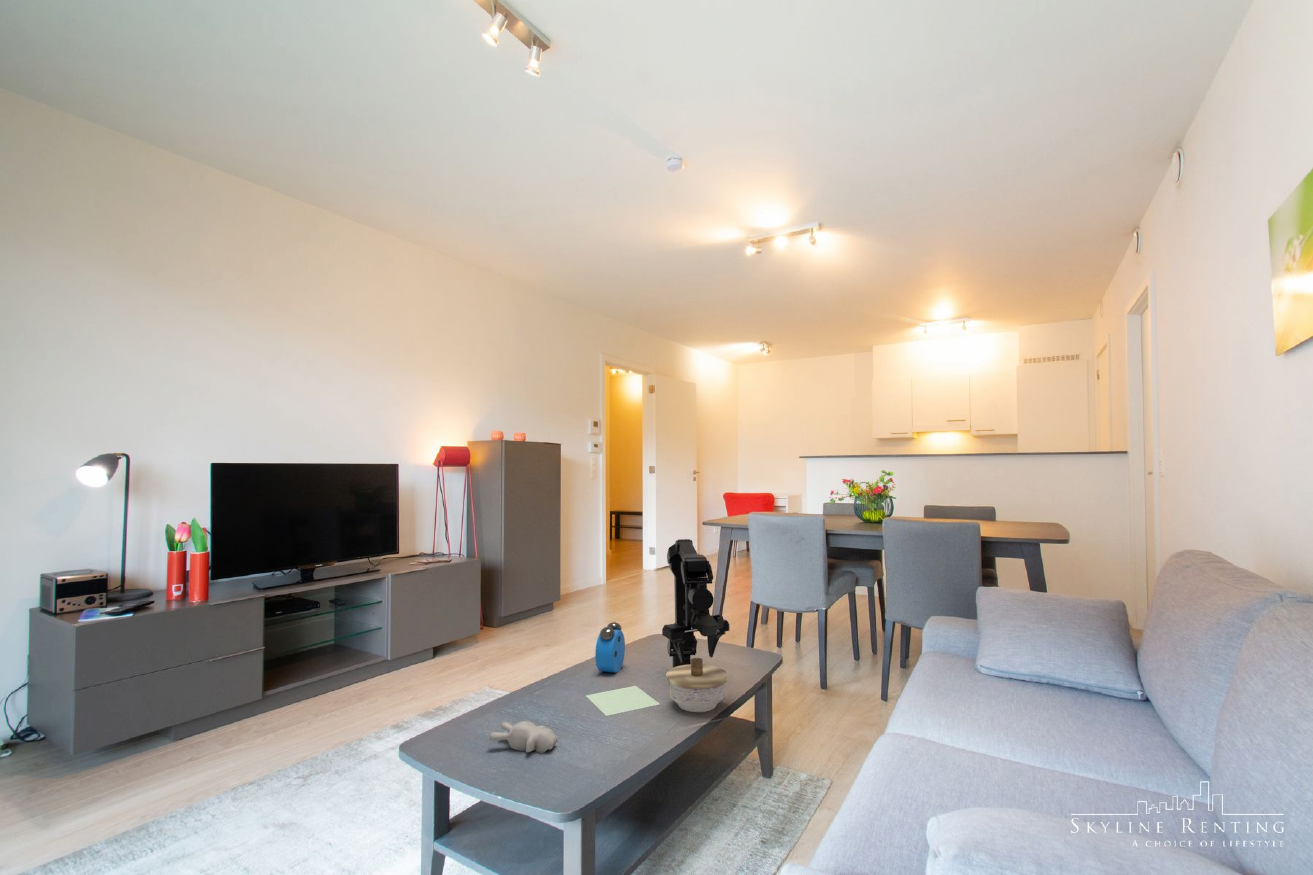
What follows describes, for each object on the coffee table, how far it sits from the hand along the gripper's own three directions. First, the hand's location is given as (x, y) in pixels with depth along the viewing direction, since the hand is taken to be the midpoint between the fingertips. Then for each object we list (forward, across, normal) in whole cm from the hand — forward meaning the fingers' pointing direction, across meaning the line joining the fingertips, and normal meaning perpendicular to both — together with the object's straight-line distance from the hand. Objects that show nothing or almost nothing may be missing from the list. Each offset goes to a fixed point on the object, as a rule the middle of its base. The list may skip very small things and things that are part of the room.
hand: (696, 659), depth 165 cm
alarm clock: (+13, -10, +38) cm, 41 cm away
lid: (+5, 0, 0) cm, 5 cm away
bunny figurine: (+13, -48, -1) cm, 50 cm away
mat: (+13, -17, +13) cm, 25 cm away
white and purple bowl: (+13, 0, 0) cm, 13 cm away
